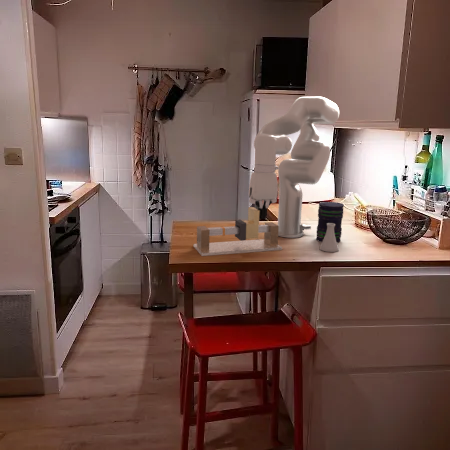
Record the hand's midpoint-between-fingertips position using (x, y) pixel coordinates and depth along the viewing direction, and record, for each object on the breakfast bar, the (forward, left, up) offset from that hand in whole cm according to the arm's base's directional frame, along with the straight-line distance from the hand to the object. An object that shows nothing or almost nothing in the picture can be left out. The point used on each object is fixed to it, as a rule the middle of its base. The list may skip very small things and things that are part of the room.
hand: (262, 218), depth 166 cm
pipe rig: (+9, 0, -11) cm, 15 cm away
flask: (-24, +10, -11) cm, 28 cm away
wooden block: (+5, 0, -7) cm, 9 cm away
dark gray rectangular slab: (+8, 0, -7) cm, 11 cm away
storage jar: (-31, -2, -11) cm, 33 cm away
